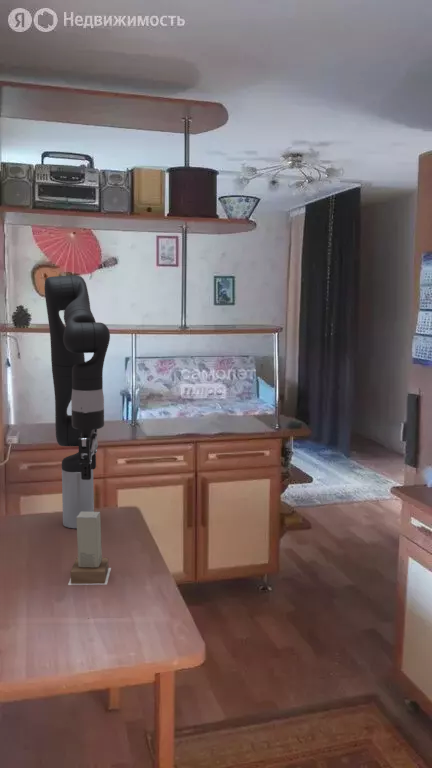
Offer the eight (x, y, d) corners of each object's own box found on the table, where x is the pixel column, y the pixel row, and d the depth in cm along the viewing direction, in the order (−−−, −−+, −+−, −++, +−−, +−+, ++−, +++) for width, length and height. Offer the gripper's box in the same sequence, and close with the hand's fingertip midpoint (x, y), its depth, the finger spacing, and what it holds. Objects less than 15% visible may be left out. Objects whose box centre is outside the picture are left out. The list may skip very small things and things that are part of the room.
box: (102, 561, 164) (101, 511, 162) (98, 568, 159) (97, 517, 158) (81, 560, 164) (80, 510, 162) (76, 567, 160) (75, 516, 158)
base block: (76, 569, 166) (76, 557, 165) (108, 569, 166) (108, 557, 166) (70, 583, 158) (70, 571, 158) (104, 583, 158) (104, 571, 158)
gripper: (76, 401, 162) (77, 465, 165) (66, 413, 148) (67, 483, 151) (107, 402, 163) (108, 465, 165) (100, 413, 149) (100, 483, 151)
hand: (88, 474), depth 158 cm, fingers open, 8 cm apart
